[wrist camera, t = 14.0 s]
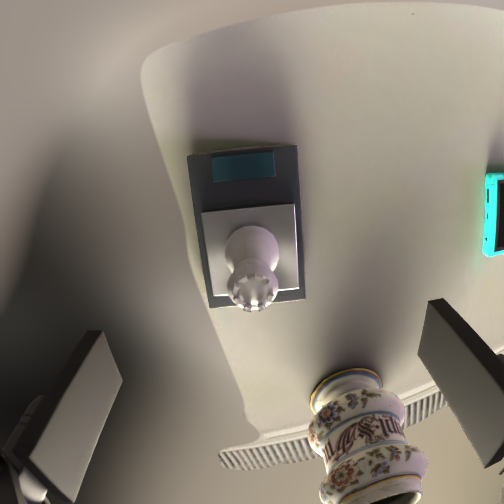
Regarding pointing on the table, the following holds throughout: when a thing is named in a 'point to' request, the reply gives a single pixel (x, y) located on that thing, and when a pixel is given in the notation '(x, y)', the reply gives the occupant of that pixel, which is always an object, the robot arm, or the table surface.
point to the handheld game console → (494, 214)
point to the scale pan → (266, 216)
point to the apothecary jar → (363, 442)
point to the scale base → (247, 196)
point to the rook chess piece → (252, 267)
